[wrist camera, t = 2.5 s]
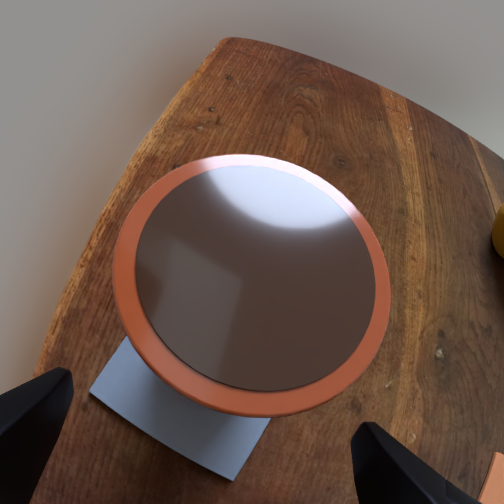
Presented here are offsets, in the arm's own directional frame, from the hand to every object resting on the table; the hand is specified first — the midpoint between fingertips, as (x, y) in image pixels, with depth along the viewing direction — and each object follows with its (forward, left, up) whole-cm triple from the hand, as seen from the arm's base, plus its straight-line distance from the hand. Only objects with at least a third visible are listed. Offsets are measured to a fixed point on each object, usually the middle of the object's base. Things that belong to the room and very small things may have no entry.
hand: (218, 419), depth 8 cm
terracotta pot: (+3, +1, -10) cm, 10 cm away
